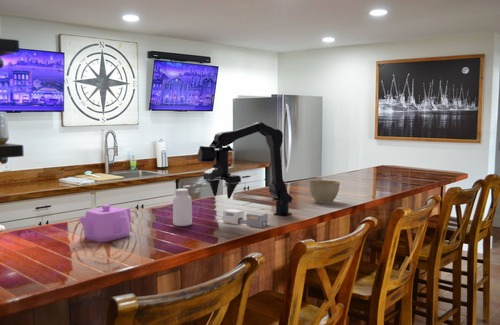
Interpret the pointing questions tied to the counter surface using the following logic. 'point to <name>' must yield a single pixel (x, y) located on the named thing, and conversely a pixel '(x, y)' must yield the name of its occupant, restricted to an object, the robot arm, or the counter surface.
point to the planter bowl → (324, 190)
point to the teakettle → (106, 223)
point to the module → (232, 215)
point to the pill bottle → (182, 208)
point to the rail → (243, 222)
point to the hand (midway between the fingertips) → (221, 197)
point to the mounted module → (257, 218)
